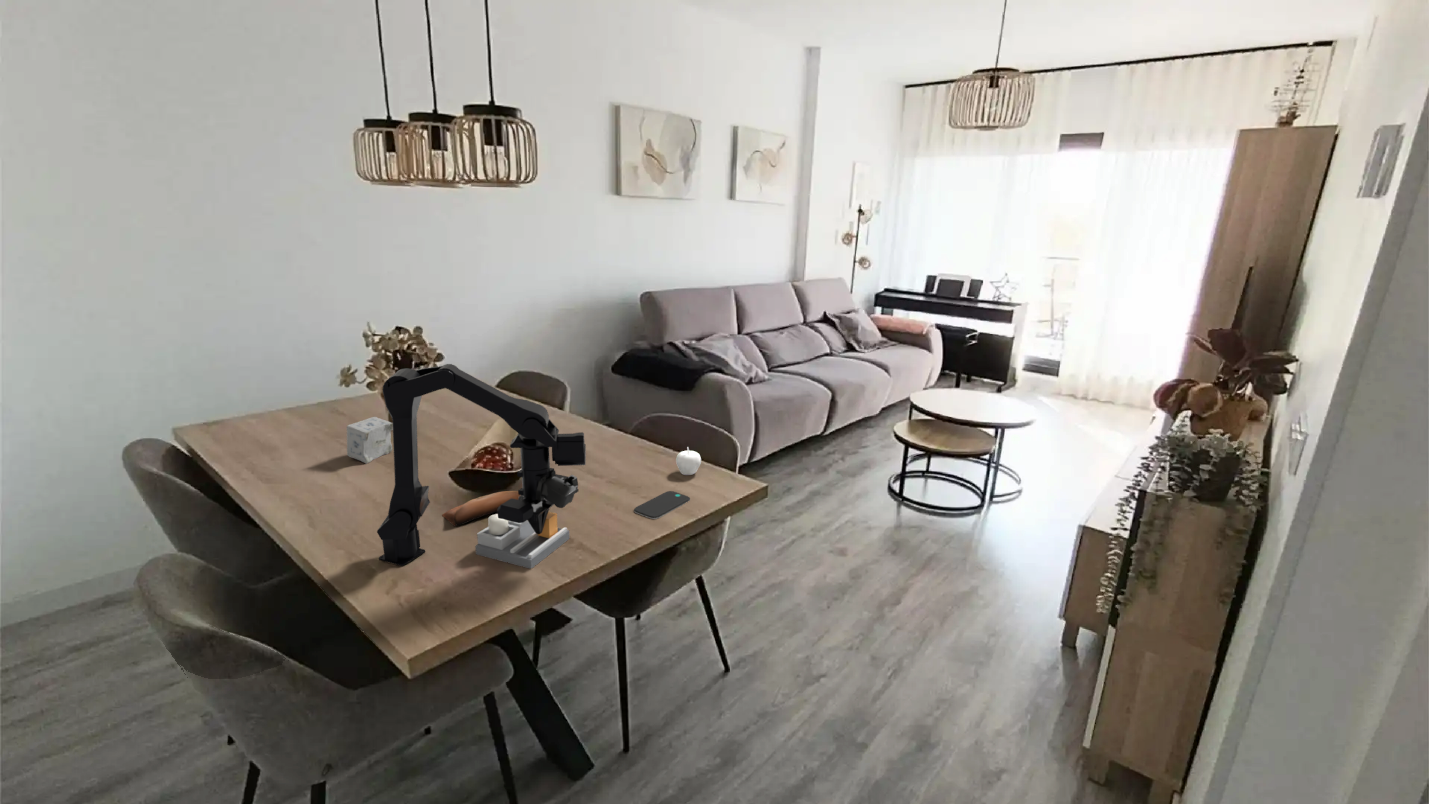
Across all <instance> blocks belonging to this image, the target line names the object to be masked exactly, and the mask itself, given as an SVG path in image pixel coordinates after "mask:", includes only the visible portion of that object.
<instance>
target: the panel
mask: <svg viewBox="0 0 1429 804" xmlns="http://www.w3.org/2000/svg"><path fill="white" fill-rule="evenodd" d="M508 528H509V530H508V532H507V533H505V534H502V535H492V534H490V533H489V525H487V527H485V528H484V529H482V530H480V531H479V532H477V533H476V536H477V537H476V538H477V544H475V555H478V556H482V557H485V558H489V559H493V560H496V559H497V560H496V561H500V562H504V563H507V562H508V564H512V565H515V566H518V567H522V566H523V568H527V569H530V570H531V568H532V569H533V568H534V567H536V566H537V565H538V564H540V562H542V561H543V560H545V559H546V558H547V557H548V556H549V555H551V554H552V553H554V551H556V550H557V549H558V548H560V547H561V546H562V545H563V544H564V543H566V542H567V541H569V540H570V537H571V536H570V530H569V529H568V527H566V526H565V527H563V528H560V527H557V528H558V532H557V533H556V534H555V535H553V536H552V537H551V538H546V537H542V536H538V534H536V533H535V531H534V530H533V528H532V527H531V525H530V523H529V522H528V520H526V521H525V522H523V523H517V522H512V521H508ZM535 565H536V566H535Z"/></svg>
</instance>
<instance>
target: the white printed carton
mask: <svg viewBox="0 0 1429 804" xmlns="http://www.w3.org/2000/svg"><path fill="white" fill-rule="evenodd" d="M392 431H393V422H391V421H388V420H385V419H382V418H379V417H377V416H372V417H369V418H365V419H364V420H363V419H362V420H360V421H356V422H354V423H351V424H348V425H346V454H347V457H349V458H352V459H355V460H357V461H361V462H362V463H365V464H369V463H371V462H372V461H373V460H376V459H378V458H380V457H381V456H385V455H388V454H390V453H392V451H393V444H392V442H391V441H392V440H391V439H392V435H391V432H392Z"/></svg>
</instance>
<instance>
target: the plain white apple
mask: <svg viewBox="0 0 1429 804" xmlns="http://www.w3.org/2000/svg"><path fill="white" fill-rule="evenodd" d="M686 449H687V450H684V451H683V450H682V451H680V452H679V453H678V454H677V456H676V457H675V464H676V466H677V468H678V470H679V473H680V474H682V475H684V476H691V475H694V474H696V473H697V471H698V469H699V468H700V466H701V463H702V458H701V455H700V453H698V452H697V451H694V450H690V448H689V446H687V447H686Z"/></svg>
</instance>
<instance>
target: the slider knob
mask: <svg viewBox="0 0 1429 804" xmlns="http://www.w3.org/2000/svg"><path fill="white" fill-rule="evenodd" d="M558 528H559V527H558V513H557V512H553V511H548V514H547V517H546V521H545V524H544V528H543V531H542V533H541V534H538V536H542V537H546V538H551V537H552V536H553V535H555V534H556V533H557V532H558Z"/></svg>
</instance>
